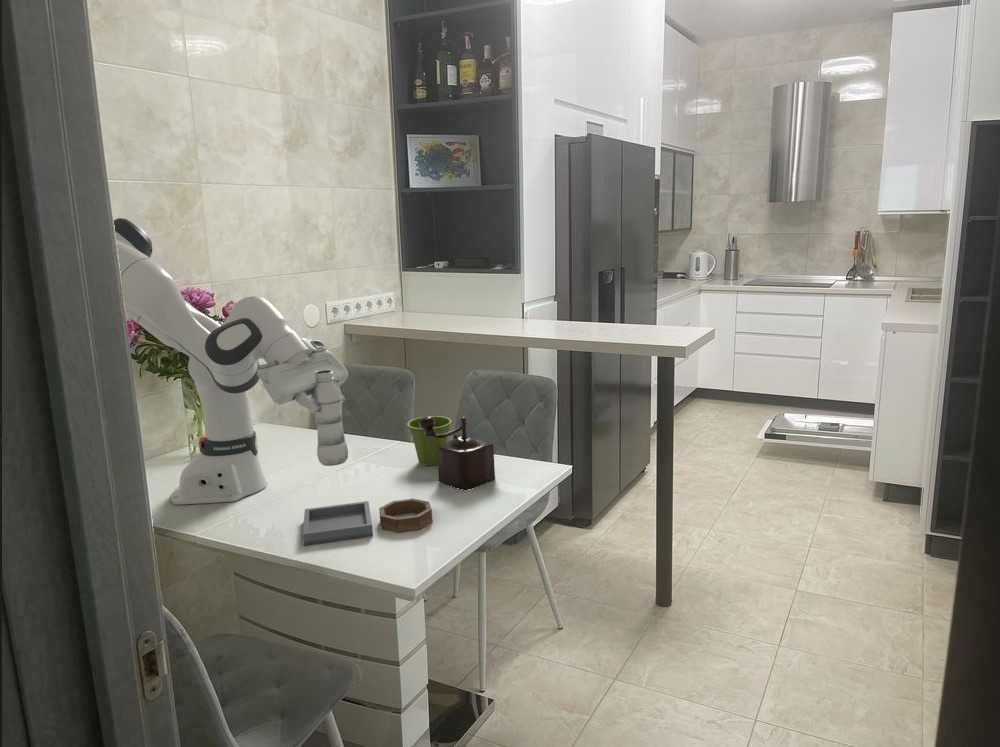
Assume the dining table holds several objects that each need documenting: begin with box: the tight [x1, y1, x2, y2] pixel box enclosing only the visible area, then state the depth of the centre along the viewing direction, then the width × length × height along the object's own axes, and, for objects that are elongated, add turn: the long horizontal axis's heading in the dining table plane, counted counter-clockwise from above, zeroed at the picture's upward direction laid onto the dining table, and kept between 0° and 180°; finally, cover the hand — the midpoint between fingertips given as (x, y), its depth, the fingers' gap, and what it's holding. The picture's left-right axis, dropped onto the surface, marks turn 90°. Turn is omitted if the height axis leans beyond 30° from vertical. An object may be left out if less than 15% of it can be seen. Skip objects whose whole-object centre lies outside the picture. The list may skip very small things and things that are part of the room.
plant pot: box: [406, 415, 452, 466], centre depth 200 cm, size 12×12×11 cm
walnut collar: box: [378, 498, 434, 534], centre depth 162 cm, size 11×11×3 cm
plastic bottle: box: [310, 370, 349, 467], centre depth 155 cm, size 6×7×20 cm
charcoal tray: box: [302, 500, 374, 547], centre depth 160 cm, size 14×14×3 cm
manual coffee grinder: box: [419, 415, 496, 491], centre depth 182 cm, size 16×11×18 cm
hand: (329, 406), depth 155 cm, fingers closed on plastic bottle, 6 cm apart
